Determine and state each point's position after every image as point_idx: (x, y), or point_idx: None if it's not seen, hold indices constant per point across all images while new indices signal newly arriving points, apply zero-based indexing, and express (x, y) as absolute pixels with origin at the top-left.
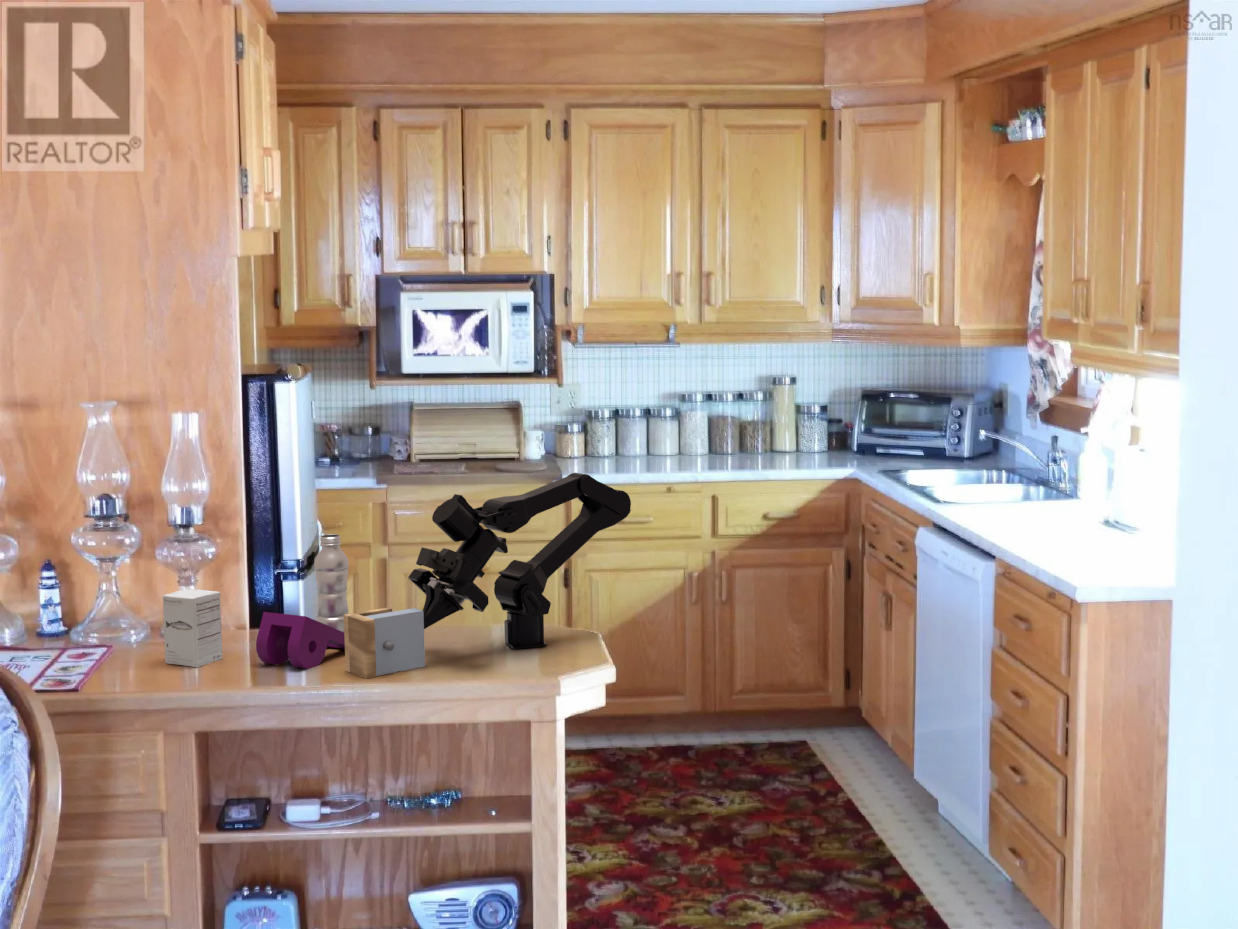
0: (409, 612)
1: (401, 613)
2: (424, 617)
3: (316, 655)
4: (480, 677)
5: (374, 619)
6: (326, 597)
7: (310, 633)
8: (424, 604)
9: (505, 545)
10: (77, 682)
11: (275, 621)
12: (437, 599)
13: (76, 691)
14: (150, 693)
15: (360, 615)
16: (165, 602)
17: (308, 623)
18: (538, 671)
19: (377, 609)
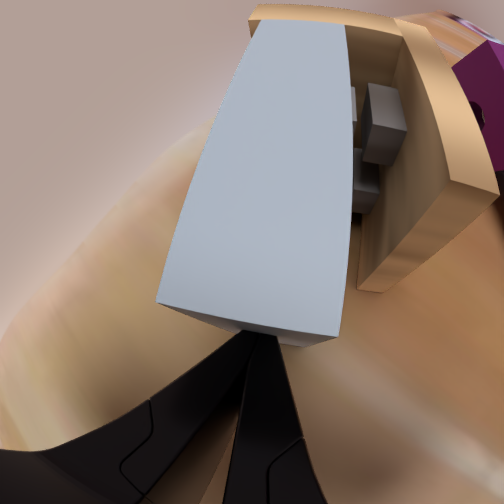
0: (213, 173)
1: (242, 121)
2: (225, 363)
3: None
4: (56, 334)
5: (260, 24)
6: None
7: (482, 87)
8: (310, 468)
9: None
10: (478, 32)
11: None
12: (58, 467)
13: (447, 16)
14: (410, 17)
15: (371, 27)
16: None
17: (487, 62)
18: (20, 430)
19: (472, 123)
